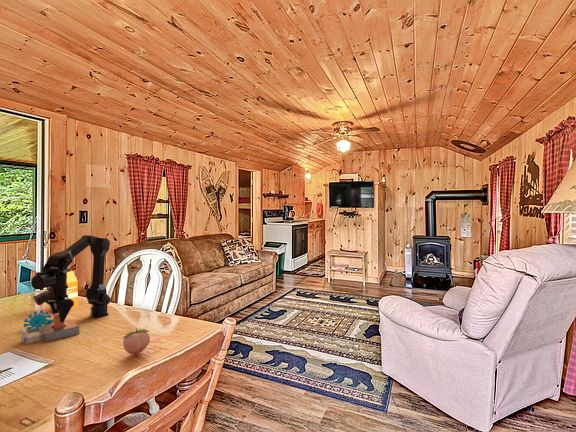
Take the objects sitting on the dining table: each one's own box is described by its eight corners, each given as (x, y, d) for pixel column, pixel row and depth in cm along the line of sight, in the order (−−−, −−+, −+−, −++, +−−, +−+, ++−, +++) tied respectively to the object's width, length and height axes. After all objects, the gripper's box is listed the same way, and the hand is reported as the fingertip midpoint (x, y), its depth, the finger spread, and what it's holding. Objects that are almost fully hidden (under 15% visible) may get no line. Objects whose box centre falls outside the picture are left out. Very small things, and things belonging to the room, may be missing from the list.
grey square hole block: (69, 327, 144) (69, 319, 144) (79, 333, 136) (79, 325, 136) (37, 334, 135) (37, 326, 135) (45, 342, 127) (45, 334, 127)
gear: (18, 330, 135) (28, 308, 142) (21, 336, 139) (31, 315, 146) (49, 330, 139) (57, 310, 146) (51, 336, 143) (59, 316, 150)
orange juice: (51, 310, 166) (51, 272, 166) (67, 305, 175) (67, 269, 174) (62, 312, 164) (62, 274, 164) (77, 307, 173) (78, 270, 172)
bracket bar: (39, 337, 132) (39, 325, 132) (42, 339, 130) (42, 327, 130) (21, 341, 127) (21, 329, 127) (24, 344, 125) (24, 332, 125)
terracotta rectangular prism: (61, 332, 138) (61, 312, 137) (63, 334, 136) (64, 313, 136) (53, 334, 135) (53, 313, 135) (55, 336, 133) (55, 315, 133)
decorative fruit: (142, 347, 125) (143, 322, 125) (153, 353, 120) (153, 327, 120) (118, 355, 118) (118, 328, 118) (127, 362, 113) (128, 334, 112)
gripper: (29, 283, 135) (29, 319, 135) (41, 291, 123) (41, 330, 123) (60, 279, 143) (60, 313, 144) (74, 286, 132) (74, 323, 132)
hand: (58, 319), depth 135 cm, fingers open, 9 cm apart
